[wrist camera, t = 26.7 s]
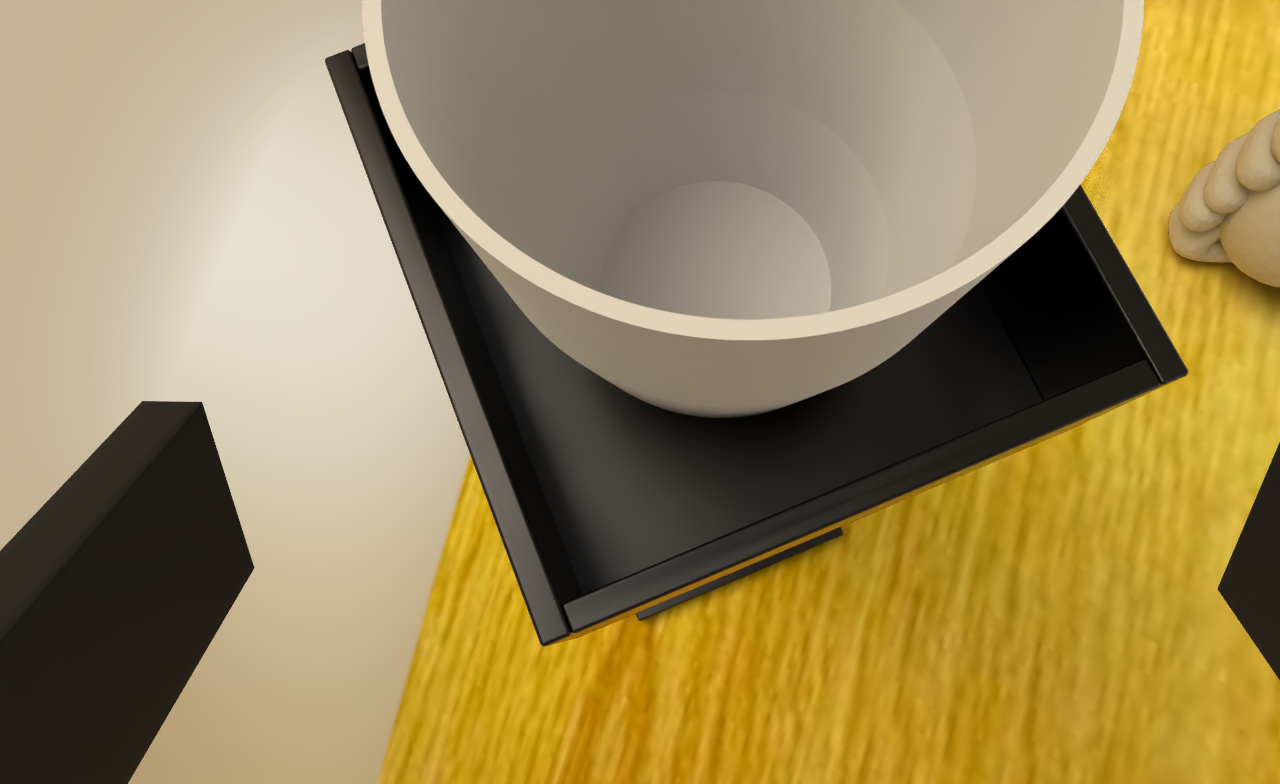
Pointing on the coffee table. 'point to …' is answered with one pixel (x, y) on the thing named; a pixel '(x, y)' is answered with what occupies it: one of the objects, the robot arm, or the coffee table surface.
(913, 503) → the coffee table surface
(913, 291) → the cup
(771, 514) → the black tray stand
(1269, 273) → the decorative object
